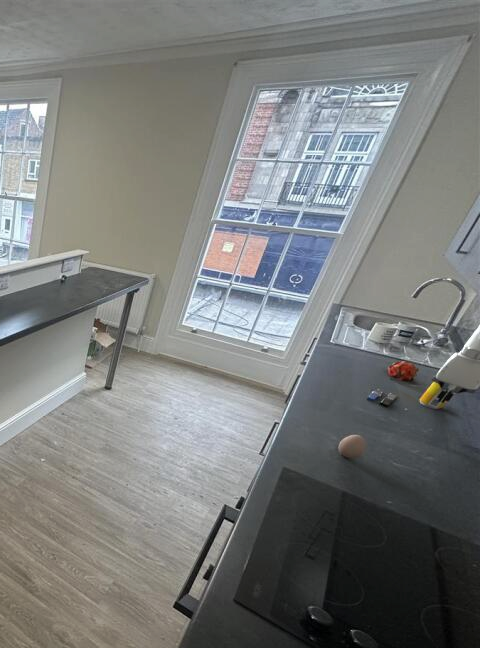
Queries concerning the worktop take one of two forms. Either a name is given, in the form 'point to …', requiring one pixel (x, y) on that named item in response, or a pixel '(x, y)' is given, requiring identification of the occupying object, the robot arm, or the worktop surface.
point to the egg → (352, 446)
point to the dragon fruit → (403, 371)
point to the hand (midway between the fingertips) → (441, 401)
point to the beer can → (434, 396)
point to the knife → (388, 400)
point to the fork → (375, 395)
